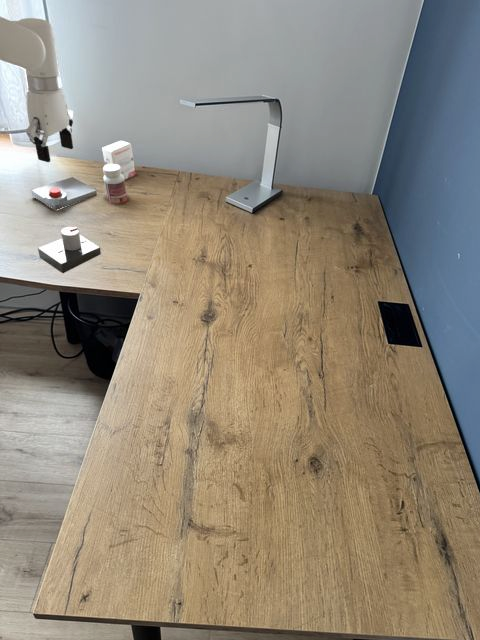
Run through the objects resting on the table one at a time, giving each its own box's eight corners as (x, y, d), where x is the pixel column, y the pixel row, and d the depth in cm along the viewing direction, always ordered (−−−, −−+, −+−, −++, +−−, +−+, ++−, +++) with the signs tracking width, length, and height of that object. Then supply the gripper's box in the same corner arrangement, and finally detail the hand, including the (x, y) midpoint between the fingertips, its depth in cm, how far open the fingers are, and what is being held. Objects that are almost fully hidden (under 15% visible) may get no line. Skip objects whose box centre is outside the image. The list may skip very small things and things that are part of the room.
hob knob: (70, 252, 131) (67, 236, 128) (60, 245, 133) (57, 229, 129) (84, 246, 134) (82, 230, 130) (74, 239, 135) (71, 223, 132)
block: (55, 213, 150) (52, 201, 147) (29, 197, 155) (26, 185, 152) (99, 197, 160) (97, 186, 157) (73, 183, 165) (71, 171, 162)
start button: (54, 199, 149) (53, 193, 148) (47, 195, 150) (46, 189, 149) (63, 196, 151) (62, 190, 150) (57, 192, 152) (56, 186, 151)
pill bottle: (131, 201, 159) (126, 166, 151) (117, 208, 156) (111, 173, 148) (118, 195, 162) (112, 161, 154) (103, 202, 158) (96, 167, 150)
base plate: (63, 274, 129) (61, 263, 127) (39, 257, 133) (37, 247, 131) (101, 256, 136) (100, 246, 134) (78, 241, 140) (76, 231, 138)
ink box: (126, 173, 173) (121, 139, 165) (136, 177, 171) (131, 142, 163) (107, 182, 168) (101, 147, 160) (117, 186, 166) (111, 151, 158)
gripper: (52, 70, 125) (63, 140, 136) (5, 87, 112) (21, 162, 124) (79, 76, 123) (88, 146, 135) (34, 94, 111) (48, 169, 123)
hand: (56, 154), depth 129 cm, fingers open, 9 cm apart
